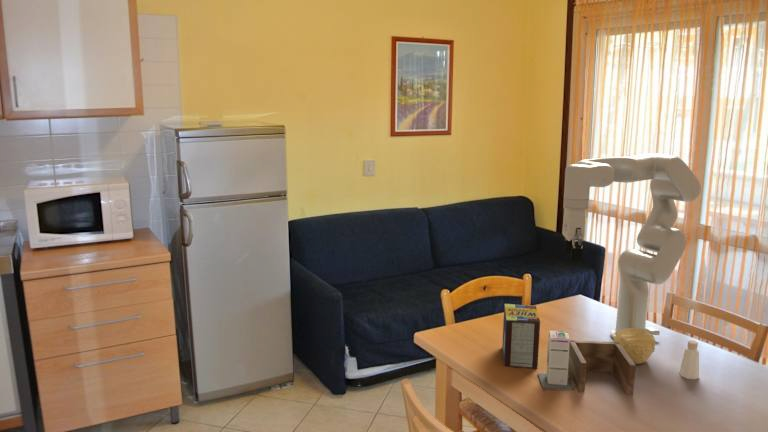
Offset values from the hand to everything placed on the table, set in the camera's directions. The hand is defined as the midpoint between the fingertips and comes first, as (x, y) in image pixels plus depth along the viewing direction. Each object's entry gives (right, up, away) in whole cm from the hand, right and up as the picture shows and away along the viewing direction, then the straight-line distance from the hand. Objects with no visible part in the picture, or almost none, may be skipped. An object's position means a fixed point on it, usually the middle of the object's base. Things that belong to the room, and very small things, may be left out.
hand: (572, 256), depth 197 cm
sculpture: (+19, -34, +1) cm, 39 cm away
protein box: (-17, -33, +2) cm, 37 cm away
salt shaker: (+32, -36, -9) cm, 49 cm away
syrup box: (-10, -36, -15) cm, 40 cm away
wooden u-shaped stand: (+3, -36, -14) cm, 39 cm away
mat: (-10, -36, -15) cm, 41 cm away
